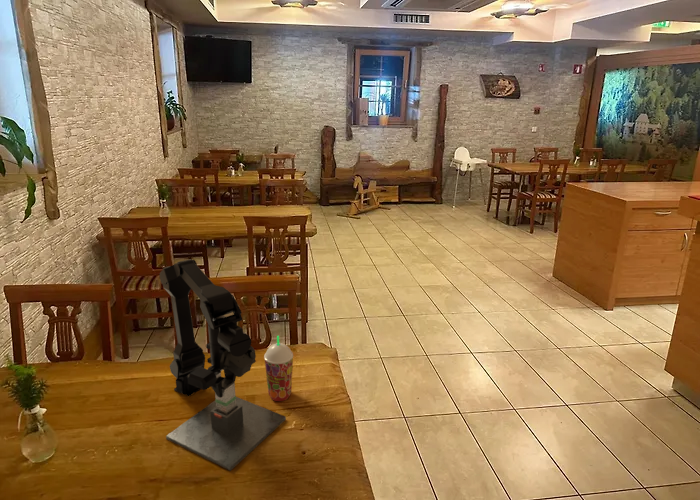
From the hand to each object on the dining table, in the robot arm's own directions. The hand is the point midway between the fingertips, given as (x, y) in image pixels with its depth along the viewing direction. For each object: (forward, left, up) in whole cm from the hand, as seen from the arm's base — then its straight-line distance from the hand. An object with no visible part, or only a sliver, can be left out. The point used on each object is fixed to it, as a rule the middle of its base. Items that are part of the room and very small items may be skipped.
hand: (225, 393), depth 125 cm
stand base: (0, 0, -11) cm, 11 cm away
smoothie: (-19, +3, -12) cm, 22 cm away
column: (0, 0, -6) cm, 6 cm away
